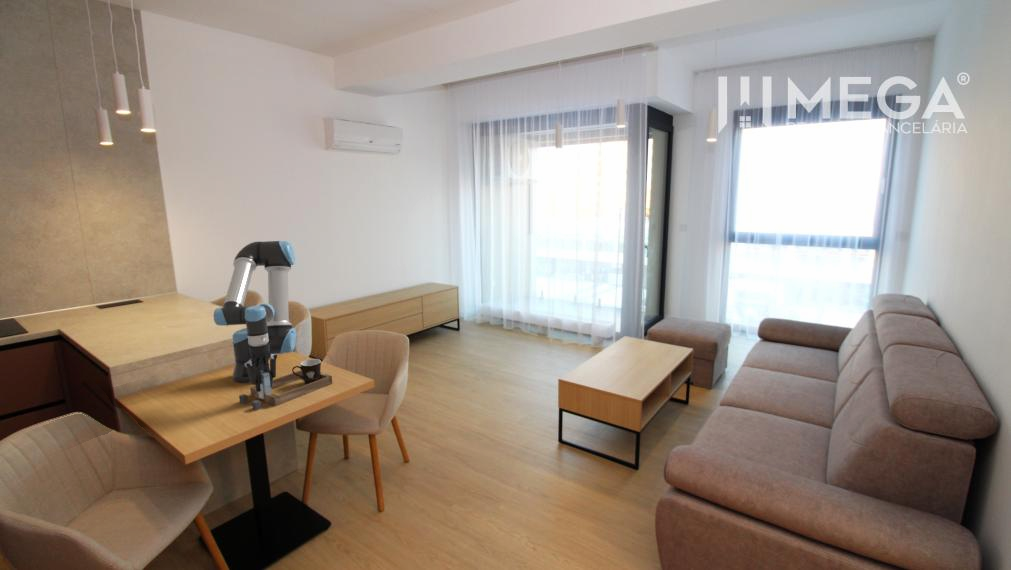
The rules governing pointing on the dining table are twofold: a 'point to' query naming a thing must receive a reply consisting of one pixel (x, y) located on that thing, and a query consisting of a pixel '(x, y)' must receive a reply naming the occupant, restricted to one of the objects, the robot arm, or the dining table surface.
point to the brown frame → (289, 395)
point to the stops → (255, 404)
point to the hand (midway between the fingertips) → (265, 396)
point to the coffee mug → (310, 370)
